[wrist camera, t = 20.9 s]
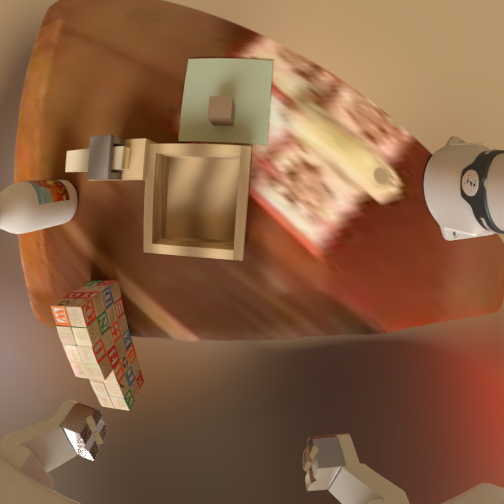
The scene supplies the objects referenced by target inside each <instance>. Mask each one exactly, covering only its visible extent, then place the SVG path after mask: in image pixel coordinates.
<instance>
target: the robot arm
mask: <svg viewBox="0 0 504 504" xmlns="http://www.w3.org/2000/svg"><path fill="white" fill-rule="evenodd" d="M424 194H425V199H426V203H427V206H428V208H429V210H430V212H431V214H432V216H433V217H434V218H435V220H436V221H437V222H438V224H439V225H440V228H441V232H442V235H443V237H444V239H445V240H458V239H465V238H472V237H479V236H486V235H492V234H494V233H498V234H504V151H503V150H489V149H488V148H487V147H484V146H483V145H482V144H480V143H465V142H464V141H462V140H461V139H459V138H458V137H451V138H450V139H449V141H448V142H447V144H446V146H445V147H443V148H441V149H440V150H438V151H436V152H435V153H434V154H433V155H432V157H431V158H430V160H429V162H428V164H427V167H426V170H425V175H424ZM453 232H454V234H453ZM101 417H102V414H101V412H100V410H97V409H94V408H91V407H89V406H86V405H83V404H81V403H78V402H75V401H73V400H70V399H68V400H66V401H65V402H64V403H63V405H62V406H61V407H60V408H59V410H58V411H57V412H56V414H55V415H54V416H53V417H52V419H51V420H50V421H44V422H41V423H39V424H36V425H33V426H31V427H28V428H25V429H22V430H19V431H16V432H13V433H10V434H7V435H6V437H5V438H4V439H3V440H2V442H1V443H0V504H80V503H78V502H76V501H73V500H71V499H69V498H67V497H65V496H63V495H61V494H59V493H57V492H55V491H53V490H52V489H51V488H52V486H53V485H54V481H53V479H52V478H51V477H50V476H49V475H48V473H47V472H49V471H51V470H53V469H54V468H56V467H58V466H60V465H61V464H63V463H65V462H66V461H68V460H70V459H71V458H73V457H75V456H76V455H80V456H83V457H85V458H88V459H91V460H94V459H95V457H96V455H97V453H98V451H99V447H98V445H99V444H101V443H103V442H104V440H105V438H106V433H107V430H106V425H105V423H104V422H103V421H102V420H101ZM303 467H304V470H305V471H306V472H307V475H306V477H305V480H306V487H307V491H313V490H325V489H329V491H330V492H331V493H332V494H333V495H334V496H335V497H336V498H337V499H338V500H339V501H340V502H341V503H342V504H409V501H408V499H407V497H406V494H405V492H404V491H403V490H401V489H400V488H398V487H397V486H395V485H394V484H392V483H391V482H389V481H388V480H386V479H385V478H383V477H382V476H380V475H379V474H377V473H376V472H374V471H373V470H372V469H370V468H369V467H367V466H366V465H365V464H360V463H359V460H358V457H357V454H356V451H355V449H354V445H353V443H352V440H351V437H350V435H349V434H343V435H330V436H316V437H310V438H309V440H308V447H307V448H306V449H305V451H304V455H303ZM442 504H504V489H503V488H500V487H498V486H495V485H493V484H489V483H482V484H479V485H477V486H475V487H473V488H472V489H470V490H468V491H466V492H464V493H462V494H460V495H458V496H457V497H454V498H452V499H450V500H449V501H446V502H444V503H442Z"/></svg>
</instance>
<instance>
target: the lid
mask: <svg viewBox="0 0 504 504" xmlns="http://www.w3.org/2000/svg"><path fill="white" fill-rule="evenodd" d="M272 69H273V61H270V60H257V59H235V58H202V59H189V60H188V66H187V72H186V79H185V86H184V93H183V101H182V109H181V117H180V126H179V136H178V142H221V143H242V144H257V145H267V139H268V126H269V112H270V98H271V84H272Z"/></svg>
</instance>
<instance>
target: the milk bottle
mask: <svg viewBox="0 0 504 504" xmlns="http://www.w3.org/2000/svg"><path fill="white" fill-rule="evenodd" d="M77 205H78V197H77V192H76V190H75V188H74V186H73V185H72V184H71V183H70V182H69V181H67V180H34V181H23V182H17V183H14V184H12V185H10V186H8V187H7V188H6V189H4V190H3V191H2V192H1V193H0V229H3V230H6V231H8V232H11V233H17V234H21V233H27V232H32V231H36V230H40V229H44V228H48V227H51V226H55V225H59V224H63V223H66V222H68V221H69V220H71V218H72V217H73V216H74V214H75V212H76V210H77Z"/></svg>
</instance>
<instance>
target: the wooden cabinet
mask: <svg viewBox="0 0 504 504" xmlns="http://www.w3.org/2000/svg"><path fill="white" fill-rule="evenodd" d="M116 146H125V147H129V148H130V156H129V169H128V170H111V165H112V153H113V147H116ZM251 159H252V147H251V146H240V145H221V144H158V143H156V142H153V141H151V140H149V139H146V138H141V139H122V138H119V137H116V136H113V135H104V136H95V137H91V138H90V147H89V158H88V172H87V180H145V199H144V252H146V253H158V254H170V255H182V256H194V257H206V258H218V259H231V260H243V255H244V249H245V237H246V223H247V210H248V197H249V184H250V172H251Z"/></svg>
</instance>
